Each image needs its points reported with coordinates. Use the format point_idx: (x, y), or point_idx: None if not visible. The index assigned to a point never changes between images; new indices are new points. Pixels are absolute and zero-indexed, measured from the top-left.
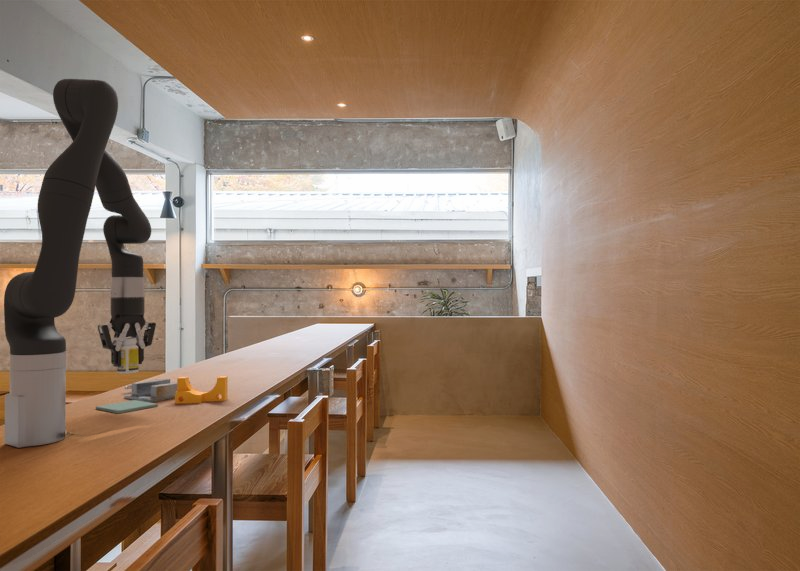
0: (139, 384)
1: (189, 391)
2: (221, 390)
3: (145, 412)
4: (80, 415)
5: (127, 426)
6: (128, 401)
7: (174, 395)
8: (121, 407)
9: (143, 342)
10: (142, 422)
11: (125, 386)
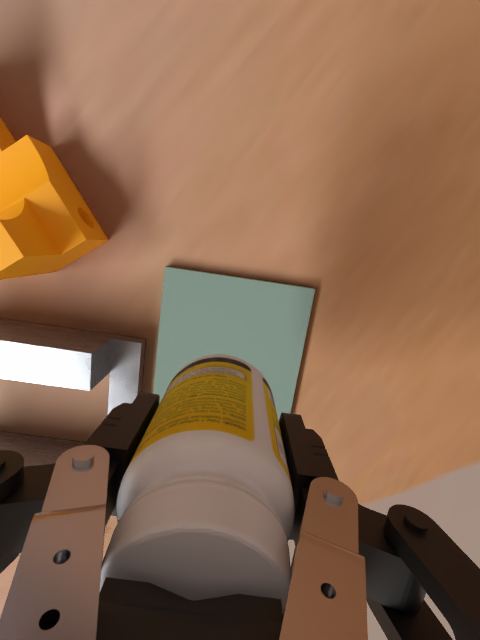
0: None
1: (42, 188)
2: None
3: (262, 213)
4: (376, 375)
5: (466, 56)
6: None
7: (35, 327)
8: (267, 331)
9: (53, 488)
10: (398, 63)
11: None
